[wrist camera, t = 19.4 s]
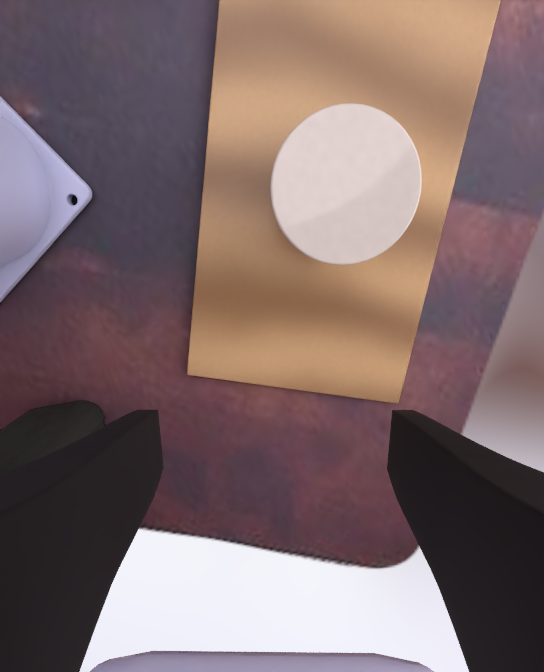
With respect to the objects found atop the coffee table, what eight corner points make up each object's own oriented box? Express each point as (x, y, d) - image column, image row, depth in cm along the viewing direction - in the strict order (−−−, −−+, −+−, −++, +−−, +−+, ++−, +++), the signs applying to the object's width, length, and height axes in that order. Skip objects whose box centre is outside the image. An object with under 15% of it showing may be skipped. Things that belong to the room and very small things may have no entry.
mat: (395, 400, 21) (398, 404, 20) (188, 371, 21) (186, 375, 20) (500, -19, 16) (508, -27, 15) (226, -65, 15) (225, -75, 15)
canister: (250, 200, 18) (238, 184, 12) (331, 119, 17) (356, 63, 11) (319, 279, 19) (337, 294, 13) (400, 206, 18) (453, 191, 12)
